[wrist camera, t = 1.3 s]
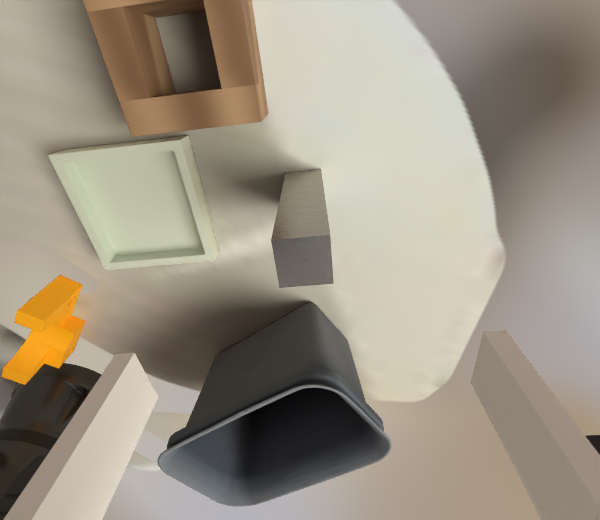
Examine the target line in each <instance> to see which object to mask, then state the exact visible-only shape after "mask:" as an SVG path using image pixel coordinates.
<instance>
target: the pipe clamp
mask: <svg viewBox="0 0 600 520" xmlns="http://www.w3.org/2000/svg"><path fill="white" fill-rule="evenodd" d="M82 286H83V285H82V284H80V283H78V282H76V281H73V280H71V279H69V278H67V277H64V276H62V275H59V276H58V277H57V278H56V279H55V280H53V281H52V282H51V283H50V284H49V285H48V286H46V287H45V288H44V289H43V290H41V291H40V292H39V293H38V294H36V295H35V296H34V297H33V298H32V299H30V300H29V301H28V302H27V303H26V304H24V305H23V306H22V307H21V308H20V309H18V310H17V314H16V318H15V323H17V324H19V325H22V326H24V327H27V328H30V329H32V331H31V333H30V335H29V337H28V338H27V340H26V341H25V343H24V344H23V345H22V347H21V348H20V349H19V351H18V352H17V353H16V354H15V356H14V357H13V358H12V359H11V360H10V361H9V362H8V363H7V364H6V365H5V366H4V368H3V372H2V376H1V377H4V378H6V379H9V380H12V381H15V382H18V383H21V384H24V385H26V383H27V382H28V381H29V380H30V379H31V378H32V377H33V376H34V374H35V373H36V372H37V371H38V370H39V369H40V368H41V367H42V366H43V364H44V363H45V364H47V365H50V366H53V367H56V368H58V369H59V368H60V367H61V365H62V364H63V363H64V362H65V360H66V359H67V358H68V357H69V356H70V354H71V353H72V352H73V351H74V350H75V347H76V344H77V342H78V339H79V336H80V333H81V331H82V328H83V326H84V323H85V321H84V320H82V319H79V318H77V317H75V316H72V312H73V309H74V306H75V304H76V301H77V298H78V295H79V294H80V291H81V288H82Z"/></svg>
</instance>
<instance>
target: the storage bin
mask: <svg viewBox="0 0 600 520" xmlns="http://www.w3.org/2000/svg"><path fill="white" fill-rule="evenodd" d="M391 446H392V444H391V440H390V438H389V437H388V436H387V435H386V434H385V433H384V427H383V422H382V420H381V418H380V417H379V416H378V415H377V414H376V413H375V411H374V410H373V409H372V408H371V407H370V406H369V405H368V404H367V403H366V401H365V398H364V394H363V391H362V388H361V384H360V381H359V377H358V374H357V370H356V367H355V364H354V360H353V357H352V354H351V350H350V347H349V344H348V341H347V339H346V338H345V337H344V336H343V334H342V333H341V332H340V331H339V330H338V329H337V328H336V327H335V326H334V325H333V324H332V322H331V321H330V320H329V319H328V318H327V317H326V316H325V314H324V313H323V312H322V311H321V310H320V309H319V308H318V306H317V305H315V304H313V303H308V304H305V305H303V306H302V307H300V308H298V309H297V310H295V311H293V312H291V313H290V314H288V315H286V316H285V317H283V318H281V319H279V320H278V321H276V322H274V323H272V324H271V325H269V326H267V327H265V328H264V329H262V330H260V331H258V332H257V333H255V334H253V335H252V336H250V337H248V338H246V339H245V340H243V341H241V342H239V343H238V344H236V345H234V346H232V347H231V348H229V349H227V350H225V351H224V352H222V353H220V354H218V355H217V356H216V357H215V358H214V361H213V363H212V366H211V368H210V371H209V373H208V375H207V378H206V380H205V383H204V385H203V388H202V390H201V393H200V395H199V397H198V400H197V402H196V404H195V407H194V409H193V411H192V414H191V416H190V418H189V421H188V423H187V425H186V427H185V428H183V429H181V430H179V431H177V432H176V433H174V434H173V435H172V436H171V437H170V438H169V441H168V445H167V450H165V451H164V452H163V453H161V455H160V456H159V458H158V465H159V467H160V468H161V470H162V471H163V472H165V473H166V474H167V475H169V476H171V477H173V478H174V479H176V480H178V481H180V482H182V483H184V484H185V485H187V486H189V487H191V488H193V489H194V490H196V491H198V492H200V493H201V494H203V495H205V496H207V497H209V498H211V499H212V500H214V501H216V502H218V503H221V504H225V505H228V506H251V505H256V504H259V503H263V502H266V501H269V500H272V499H275V498H277V497H280V496H283V495H286V494H289V493H291V492H295V491H297V490H300V489H303V488H306V487H309V486H312V485H315V484H317V483H321V482H323V481H326V480H329V479H332V478H335V477H337V476H340V475H343V474H346V473H348V472H351V471H354V470H357V469H360V468H363V467H366V466H368V465H371V464H374V463H375V462H378V461H380V460H382V459H383V458H384V457H386V456H387V455H388V454H389V452H390V450H391Z"/></svg>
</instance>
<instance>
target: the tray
mask: <svg viewBox="0 0 600 520" xmlns="http://www.w3.org/2000/svg"><path fill="white" fill-rule="evenodd" d="M48 157H49V159H50V161H51V163H52V165H53V167H54V169H55V171H56V173H57V175H58V177H59V179H60V181H61V183H62V185H63V186H64V188H65V190H66V192H67V194H68V196H69V198H70V200H71V202H72V204H73V206H74V208H75V210H76V212H77V214H78V216H79V218H80V220H81V222H82V224H83V226H84V228H85V230H86V232H87V234H88V236H89V238H90V240H91V242H92V244H93V246H94V248H95V250H96V252H97V254H98V256H99V258H100V260H101V262H102V264H103V266H104V268H105V270H112V269H124V268H135V267H147V266H159V265H170V264H182V263H194V262H205V261H215V260H216V258H217V255H218V253H219V251H220V249H219V245H218V241H217V238H216V234H215V230H214V227H213V223H212V219H211V216H210V212H209V208H208V205H207V201H206V197H205V194H204V190H203V186H202V183H201V179H200V176H199V172H198V168H197V165H196V161H195V157H194V154H193V150H192V146H191V143H190V139H189V135H188V136H179V137H170V138H162V139H153V140H145V141H136V142H127V143H119V144H110V145H102V146H93V147H84V148H76V149H67V150H62V151H59V152H56V153H53V154H50V155H48Z"/></svg>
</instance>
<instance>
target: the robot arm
mask: <svg viewBox="0 0 600 520" xmlns="http://www.w3.org/2000/svg"><path fill="white" fill-rule="evenodd" d="M471 384H472V386H473V388H474V389H475V391H476V393H477V395H478V397H479V399H480V401H481V403H482V405H483V407H484V409H485V411H486V413H487V415H488V416H489V419H490V420H491V422H492V424H493V426H494V428H495V430H496V432H497V434H498V436H499V438H500V440H501V442H502V443H503V446H504V448H505V449H506V452H507V453H508V455H509V457H510V459H511V461H512V463H513V465H514V467H515V469H516V471H517V473H518V475H519V477H520V479H521V481H522V482H523V484H524V486H525V488H526V490H527V492H528V494H529V496H530V498H531V500H532V502H533V504H534V506H535V507H536V510H537V512H538V514H539V515H540V517H541V519H542V520H600V435H591V436H585V435H584V434H583V432H582V431H581V430H580V428H579V427H578V426H577V424H576V423H575V422H574V420H573V419H572V418H571V416H570V415H569V414H568V412H567V411H566V410H565V408H564V407H563V406H562V404H561V403H560V402H559V400H558V399H557V398H556V396H555V395H554V394H553V393H552V391H551V390H550V389H549V387H548V386H547V384H546V383H545V382H544V381H543V379H542V378H541V376H540V375H539V374H538V372H537V371H536V370H535V369H534V367H533V366H532V365H531V363H530V362H529V360H528V359H527V358H526V357H525V355H524V354H523V353H522V351H521V350H520V349H519V347H518V346H517V345H516V343H515V342H514V341H513V339H512V338H511V337H510V335H509V334H508V333H507V331H506V330H502V331H486V332H483V335H482V339H481V344H480V348H479V351H478V356H477V359H476V363H475V367H474V371H473V375H472V379H471ZM157 399H158V396H157V394H156V392H155V390H154V388H153V386H152V384H151V383H150V381H149V379H148V377H147V375H146V373H145V371H144V369H143V368H142V366H141V364H140V362H139V360H138V358H137V356H136V354H135V353H122V354H116V355H115V356H114V357H113V359H112V361H111V362H110V363H109V365H108V366H107V368H106V369H105V371H104V372H103V374H102V375H101V374H99V373H97V372H95V371H92V370H90V369H87V368H84V367H81V366H77V365H72V364H66V363H63V364H62V365H61V367H60V368H59V369H58V368H56V367H53V366H50V365H47V364H43V366H42V367H41V368H40V369H39V370H38V371H37V372H36V373H35V374H34V376H33V377H32V378H31V379H30V380H29V381H28V382H27V383H26V385H24V384H21V383H18V384H17V385H16V387H15V388H14V391H13V393H12V399H11V400H10V402H9V404H8V406H7V408H6V410H5V412H4V414H3V415H2V417H1V419H0V520H102V519H103V516H104V514H105V512H106V510H107V508H108V506H109V504H110V501H111V499H112V497H113V495H114V493H115V491H116V488H117V486H118V484H119V482H120V480H121V477H122V475H123V473H124V471H125V469H126V467H127V464H128V462H129V460H130V458H131V456H132V454H133V451H134V449H135V447H136V445H137V443H138V440H139V438H140V436H141V434H142V432H143V430H144V427H145V425H146V423H147V421H148V419H149V417H150V414H151V412H152V410H153V408H154V406H155V403H156V401H157Z"/></svg>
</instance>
